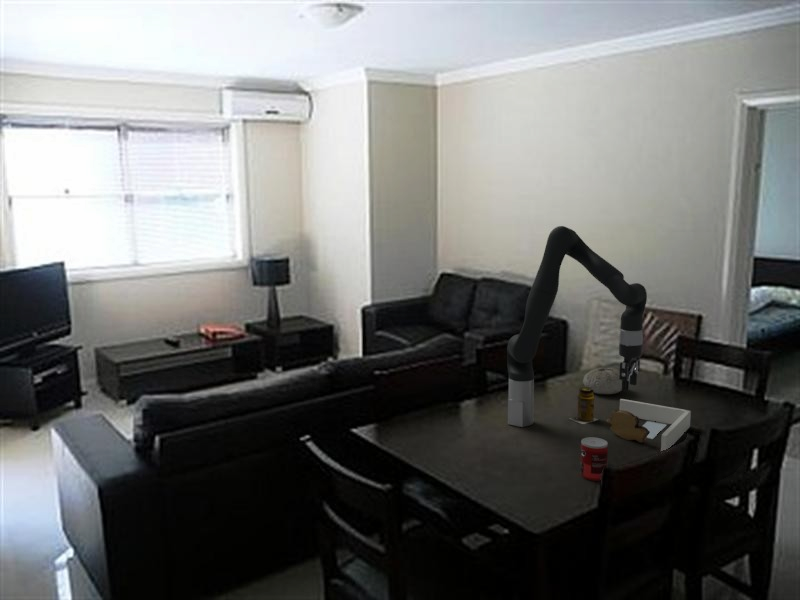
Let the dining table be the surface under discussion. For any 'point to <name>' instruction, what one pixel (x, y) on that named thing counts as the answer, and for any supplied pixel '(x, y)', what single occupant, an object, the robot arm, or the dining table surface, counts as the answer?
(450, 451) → the dining table surface
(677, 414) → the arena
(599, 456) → the canned food
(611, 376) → the decorative shell
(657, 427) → the pad
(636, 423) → the wooden carving
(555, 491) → the dining table surface
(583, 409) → the condiment
